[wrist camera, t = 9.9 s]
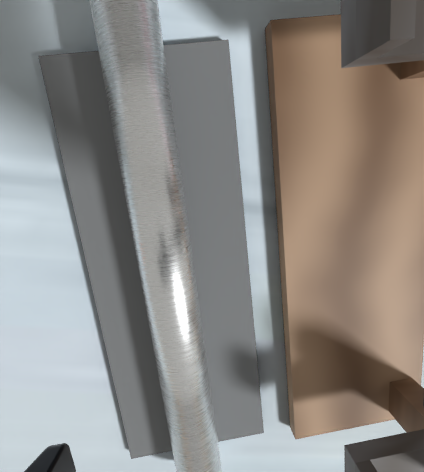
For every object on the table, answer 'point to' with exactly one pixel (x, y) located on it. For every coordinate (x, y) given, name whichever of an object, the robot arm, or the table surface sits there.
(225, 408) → the rubber mat
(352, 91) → the hook stand
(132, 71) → the steel rail
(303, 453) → the table surface
